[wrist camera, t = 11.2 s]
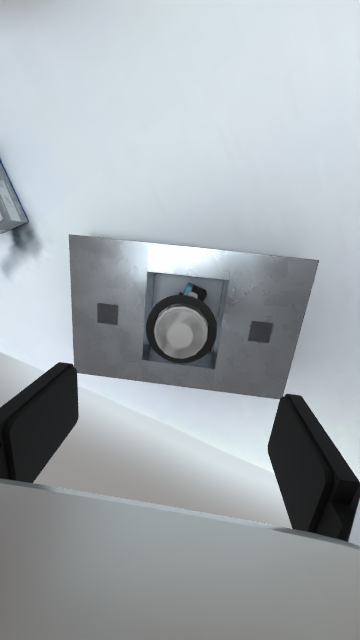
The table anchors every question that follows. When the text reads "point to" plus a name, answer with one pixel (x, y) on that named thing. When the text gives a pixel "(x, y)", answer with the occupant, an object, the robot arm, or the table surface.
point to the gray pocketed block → (233, 320)
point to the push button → (182, 327)
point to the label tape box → (9, 205)
